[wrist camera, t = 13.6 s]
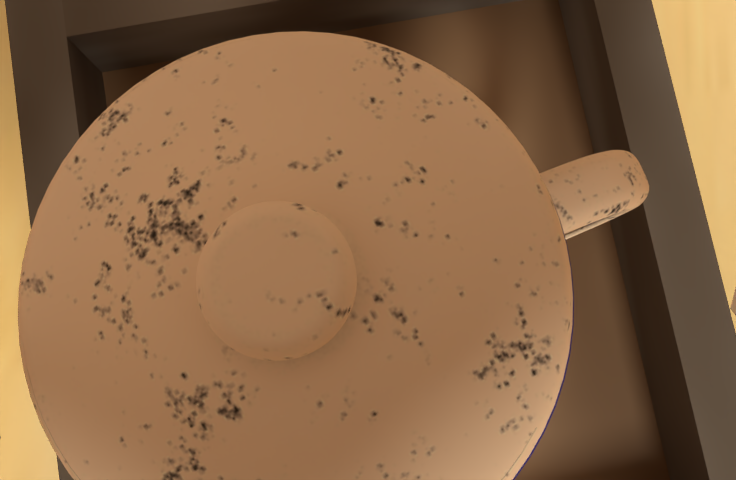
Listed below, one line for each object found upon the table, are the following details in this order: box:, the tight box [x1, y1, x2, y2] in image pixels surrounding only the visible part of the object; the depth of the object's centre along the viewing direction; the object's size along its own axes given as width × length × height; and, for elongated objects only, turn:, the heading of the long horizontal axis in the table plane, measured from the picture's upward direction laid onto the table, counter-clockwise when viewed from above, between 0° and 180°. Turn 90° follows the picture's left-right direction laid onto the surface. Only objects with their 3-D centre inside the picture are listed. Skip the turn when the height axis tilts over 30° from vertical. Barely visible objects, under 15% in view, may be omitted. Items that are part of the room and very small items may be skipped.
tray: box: [5, 0, 736, 480], centre depth 19 cm, size 17×19×4 cm
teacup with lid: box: [18, 31, 649, 480], centre depth 14 cm, size 12×9×12 cm
